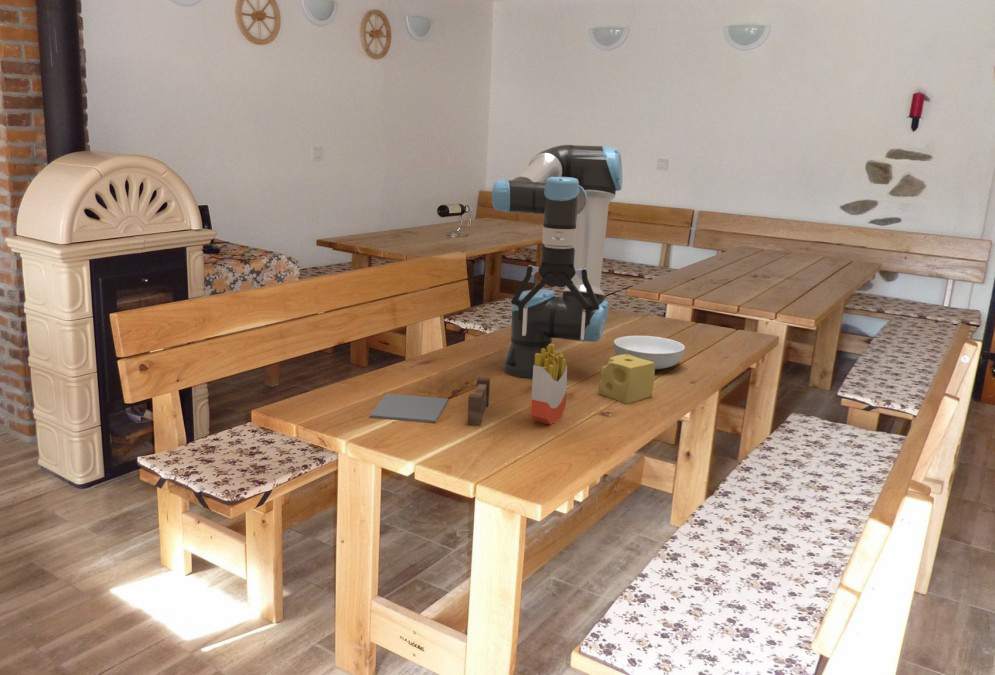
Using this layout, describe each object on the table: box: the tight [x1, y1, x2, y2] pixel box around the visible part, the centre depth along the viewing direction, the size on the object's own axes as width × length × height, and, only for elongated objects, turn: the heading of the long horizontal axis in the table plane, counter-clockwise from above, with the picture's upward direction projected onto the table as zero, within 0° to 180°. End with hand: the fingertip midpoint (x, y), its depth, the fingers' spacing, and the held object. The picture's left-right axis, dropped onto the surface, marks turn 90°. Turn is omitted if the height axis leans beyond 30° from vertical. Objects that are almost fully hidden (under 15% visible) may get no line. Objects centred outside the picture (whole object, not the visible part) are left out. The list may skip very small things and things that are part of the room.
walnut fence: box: [467, 376, 491, 427], centre depth 201 cm, size 15×3×7 cm, turn 173°
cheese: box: [597, 354, 656, 405], centre depth 219 cm, size 10×11×10 cm
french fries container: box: [530, 343, 568, 426], centre depth 198 cm, size 5×11×18 cm, turn 151°
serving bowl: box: [613, 335, 686, 371], centre depth 247 cm, size 21×21×7 cm
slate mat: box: [369, 393, 449, 424], centre depth 204 cm, size 16×16×1 cm
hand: (553, 336), depth 194 cm, fingers open, 13 cm apart
